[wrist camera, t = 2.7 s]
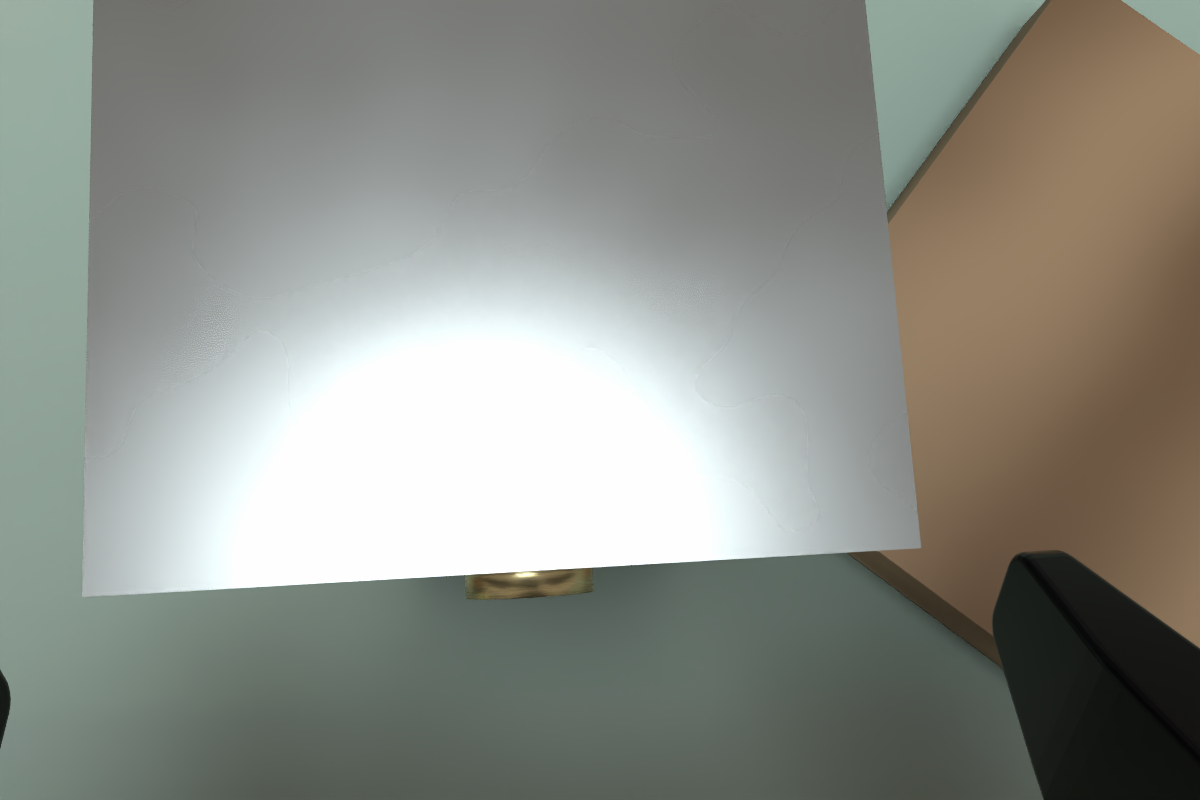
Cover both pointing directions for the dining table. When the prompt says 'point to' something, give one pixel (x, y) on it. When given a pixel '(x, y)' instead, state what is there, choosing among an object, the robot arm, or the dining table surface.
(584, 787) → the dining table surface
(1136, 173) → the plate
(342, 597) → the dining table surface
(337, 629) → the dining table surface
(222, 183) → the brushed metal box
